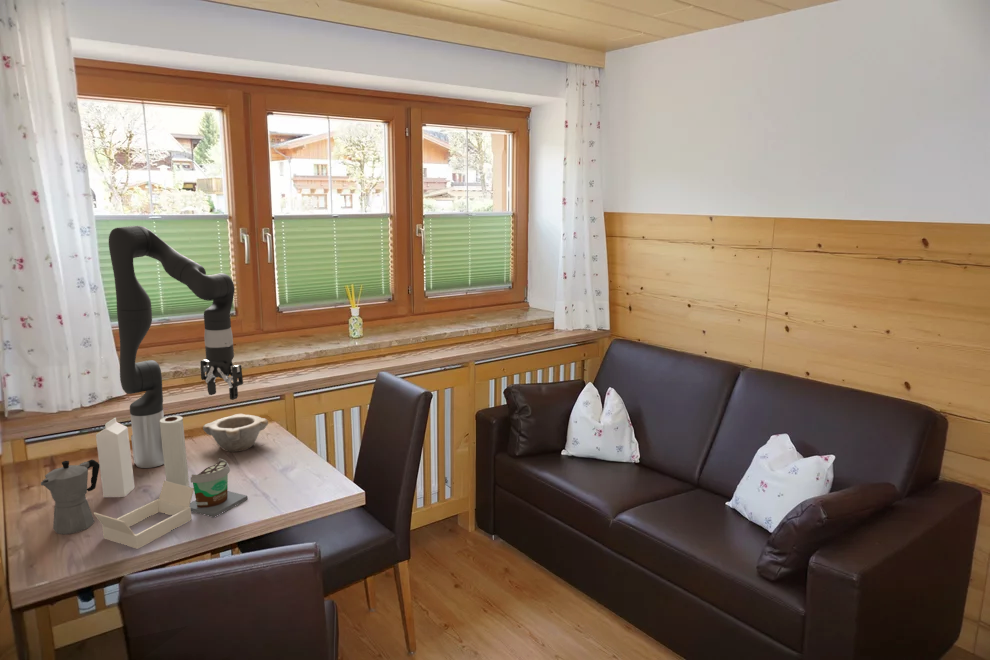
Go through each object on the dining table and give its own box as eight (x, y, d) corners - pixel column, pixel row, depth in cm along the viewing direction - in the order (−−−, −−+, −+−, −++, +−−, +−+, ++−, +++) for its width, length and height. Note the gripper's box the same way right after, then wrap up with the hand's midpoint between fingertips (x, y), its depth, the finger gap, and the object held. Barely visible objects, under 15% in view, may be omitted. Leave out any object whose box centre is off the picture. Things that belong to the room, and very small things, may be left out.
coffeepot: (62, 541, 166) (52, 474, 162) (36, 534, 169) (26, 468, 165) (117, 514, 180) (109, 451, 176) (92, 508, 183) (84, 446, 179)
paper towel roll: (169, 484, 198) (161, 416, 193) (191, 482, 199) (184, 414, 195) (163, 495, 191) (156, 424, 187) (186, 492, 192) (179, 422, 188)
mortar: (242, 434, 238) (240, 410, 236) (274, 443, 230) (272, 418, 228) (200, 449, 224) (197, 424, 222) (232, 460, 216) (230, 433, 214)
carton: (95, 542, 165) (91, 512, 164) (166, 507, 184) (163, 479, 182) (129, 553, 160) (125, 522, 159) (198, 516, 179) (195, 488, 177)
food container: (212, 512, 179) (209, 478, 176) (193, 509, 180) (190, 475, 178) (241, 493, 190) (238, 460, 188) (223, 490, 192) (220, 457, 190)
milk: (134, 488, 195) (127, 416, 191) (124, 497, 190) (116, 423, 185) (113, 488, 195) (105, 416, 191) (102, 497, 189) (94, 423, 185)
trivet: (184, 509, 183) (184, 505, 182) (218, 491, 193) (218, 488, 193) (214, 517, 178) (213, 514, 178) (247, 498, 189) (247, 495, 189)
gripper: (190, 342, 192) (195, 396, 195) (227, 349, 186) (230, 404, 189) (211, 337, 198) (215, 389, 202) (247, 343, 192) (250, 397, 196)
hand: (223, 396), depth 196 cm, fingers open, 8 cm apart
